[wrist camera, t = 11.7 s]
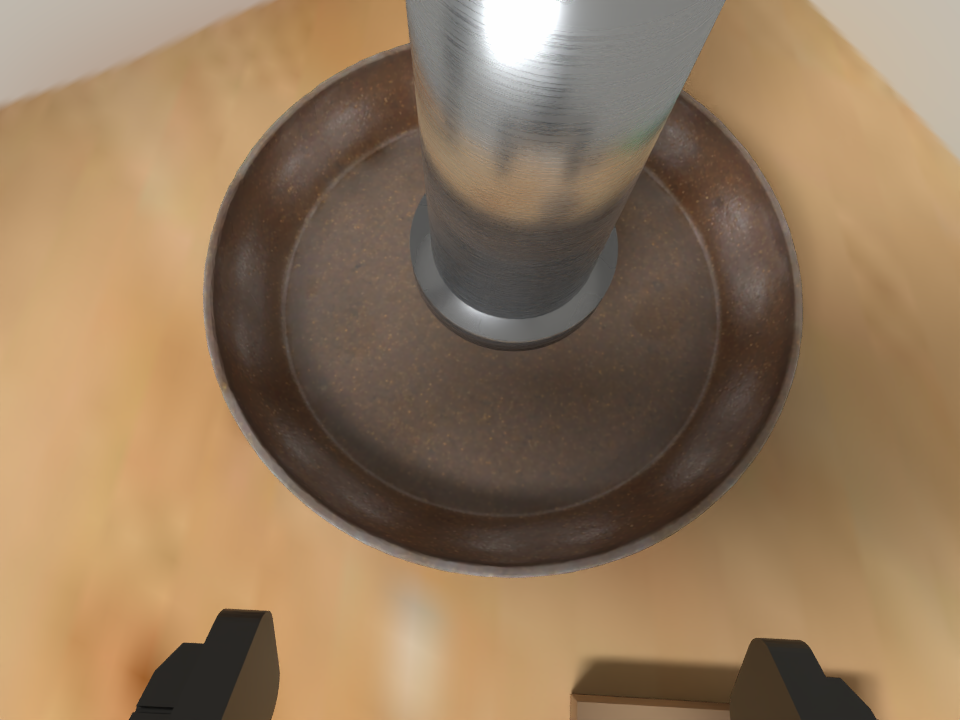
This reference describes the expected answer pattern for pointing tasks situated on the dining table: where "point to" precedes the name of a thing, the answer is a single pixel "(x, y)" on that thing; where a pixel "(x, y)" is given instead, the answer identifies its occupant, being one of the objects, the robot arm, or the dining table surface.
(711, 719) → the stand
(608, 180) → the metal cylinder canister
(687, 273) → the brown shallow round tray
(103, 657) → the dining table surface
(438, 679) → the dining table surface
